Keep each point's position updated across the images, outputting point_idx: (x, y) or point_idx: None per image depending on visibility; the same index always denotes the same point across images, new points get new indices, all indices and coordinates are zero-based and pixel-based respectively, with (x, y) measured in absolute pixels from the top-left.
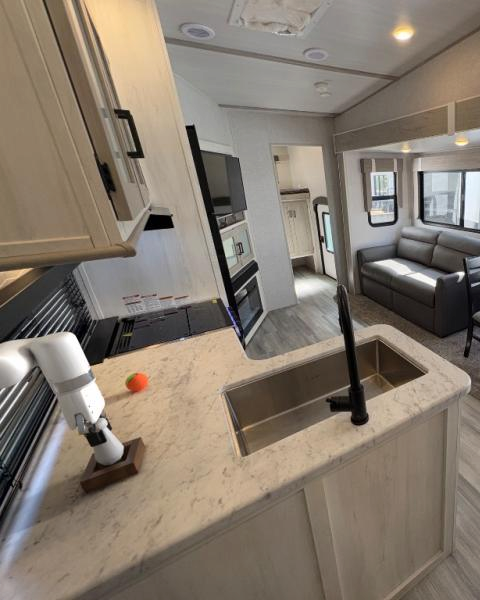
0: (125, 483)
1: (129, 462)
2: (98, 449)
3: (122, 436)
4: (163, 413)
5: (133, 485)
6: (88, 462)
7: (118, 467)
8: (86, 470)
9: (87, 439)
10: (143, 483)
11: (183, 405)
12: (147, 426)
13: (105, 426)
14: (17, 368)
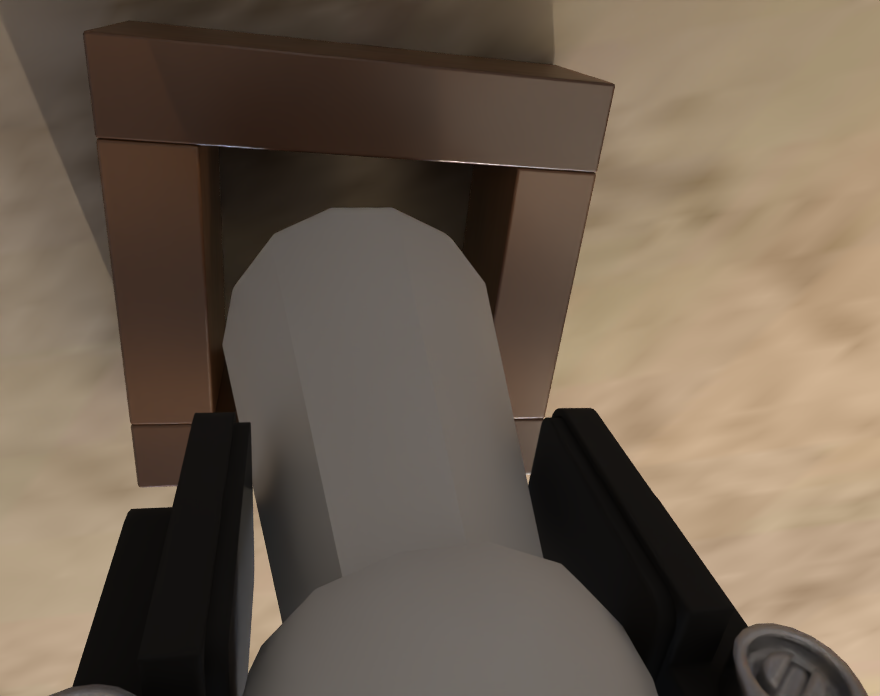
0: (84, 333)
1: (158, 458)
2: (254, 387)
3: (822, 212)
4: (851, 457)
5: (18, 392)
6: (458, 68)
7: (131, 385)
8: (294, 76)
9: (169, 547)
10: (3, 453)
11: (820, 559)
12: (781, 377)
13: None
14: None
